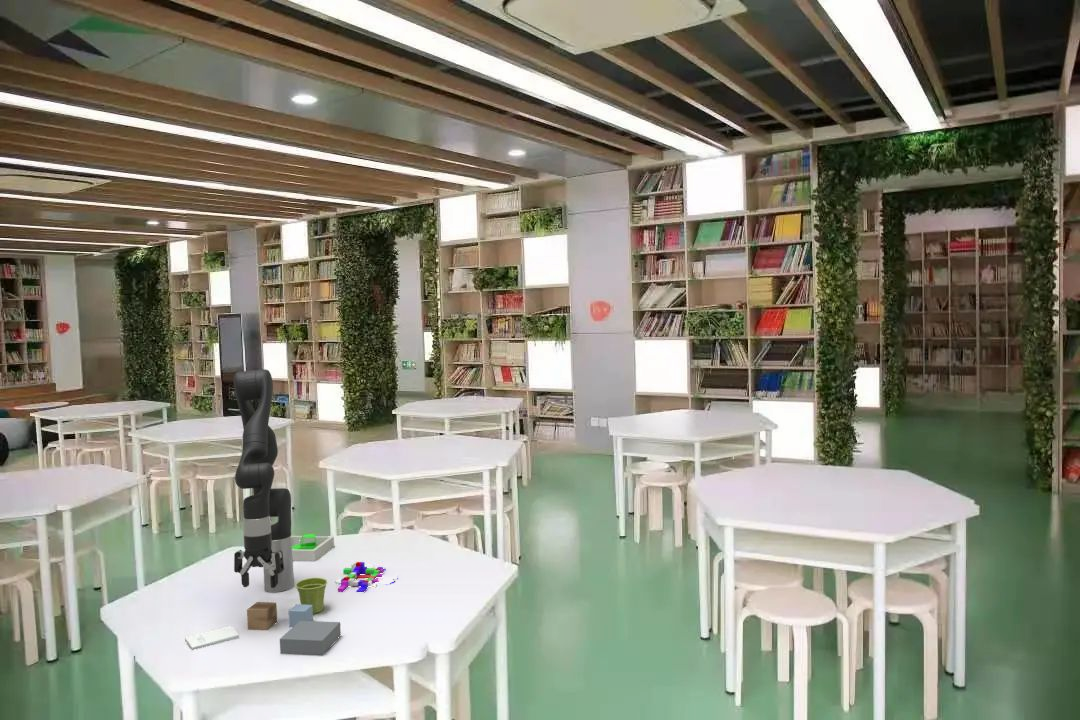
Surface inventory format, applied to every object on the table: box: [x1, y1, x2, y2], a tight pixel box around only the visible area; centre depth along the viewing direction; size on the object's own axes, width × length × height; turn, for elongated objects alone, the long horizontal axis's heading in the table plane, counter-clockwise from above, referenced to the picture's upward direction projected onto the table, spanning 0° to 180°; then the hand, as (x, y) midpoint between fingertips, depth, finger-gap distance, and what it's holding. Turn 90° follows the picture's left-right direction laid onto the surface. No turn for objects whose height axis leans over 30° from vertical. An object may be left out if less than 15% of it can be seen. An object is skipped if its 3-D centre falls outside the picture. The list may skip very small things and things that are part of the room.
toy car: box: [292, 533, 317, 550], centre depth 292 cm, size 11×7×7 cm, turn 110°
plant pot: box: [295, 577, 328, 615], centre depth 235 cm, size 9×9×9 cm
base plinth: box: [279, 620, 342, 656], centre depth 211 cm, size 12×12×4 cm
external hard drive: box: [184, 625, 240, 651], centre depth 217 cm, size 2×8×12 cm
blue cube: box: [288, 603, 314, 628], centre depth 225 cm, size 5×5×5 cm
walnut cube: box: [246, 601, 278, 631], centre depth 225 cm, size 6×6×6 cm
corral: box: [291, 535, 335, 562], centre depth 292 cm, size 17×17×4 cm
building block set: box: [334, 561, 385, 593], centre depth 262 cm, size 25×20×4 cm
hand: (259, 586), depth 224 cm, fingers open, 8 cm apart
